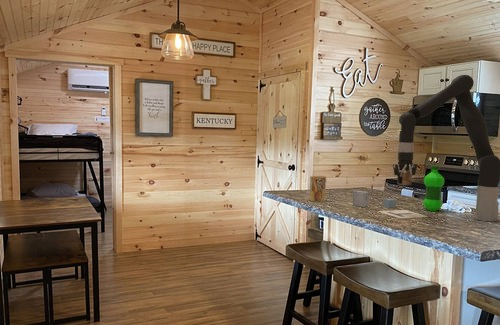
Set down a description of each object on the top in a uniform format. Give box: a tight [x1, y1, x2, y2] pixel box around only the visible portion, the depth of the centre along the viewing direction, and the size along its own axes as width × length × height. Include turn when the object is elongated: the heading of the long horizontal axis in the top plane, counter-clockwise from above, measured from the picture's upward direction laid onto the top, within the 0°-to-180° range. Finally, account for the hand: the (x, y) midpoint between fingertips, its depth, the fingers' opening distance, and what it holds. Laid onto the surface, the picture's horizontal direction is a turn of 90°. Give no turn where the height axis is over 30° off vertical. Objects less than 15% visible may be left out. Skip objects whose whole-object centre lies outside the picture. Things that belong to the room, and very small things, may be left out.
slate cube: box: [382, 198, 397, 209], centre depth 240 cm, size 5×5×5 cm
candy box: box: [309, 175, 327, 202], centre depth 259 cm, size 9×4×15 cm, turn 103°
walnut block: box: [396, 172, 413, 186], centre depth 219 cm, size 5×5×6 cm
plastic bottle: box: [422, 165, 445, 212], centre depth 234 cm, size 10×10×25 cm
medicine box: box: [352, 190, 370, 208], centre depth 243 cm, size 8×4×9 cm, turn 47°
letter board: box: [377, 209, 429, 219], centre depth 220 cm, size 18×18×1 cm
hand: (404, 183), depth 219 cm, fingers closed on walnut block, 5 cm apart
